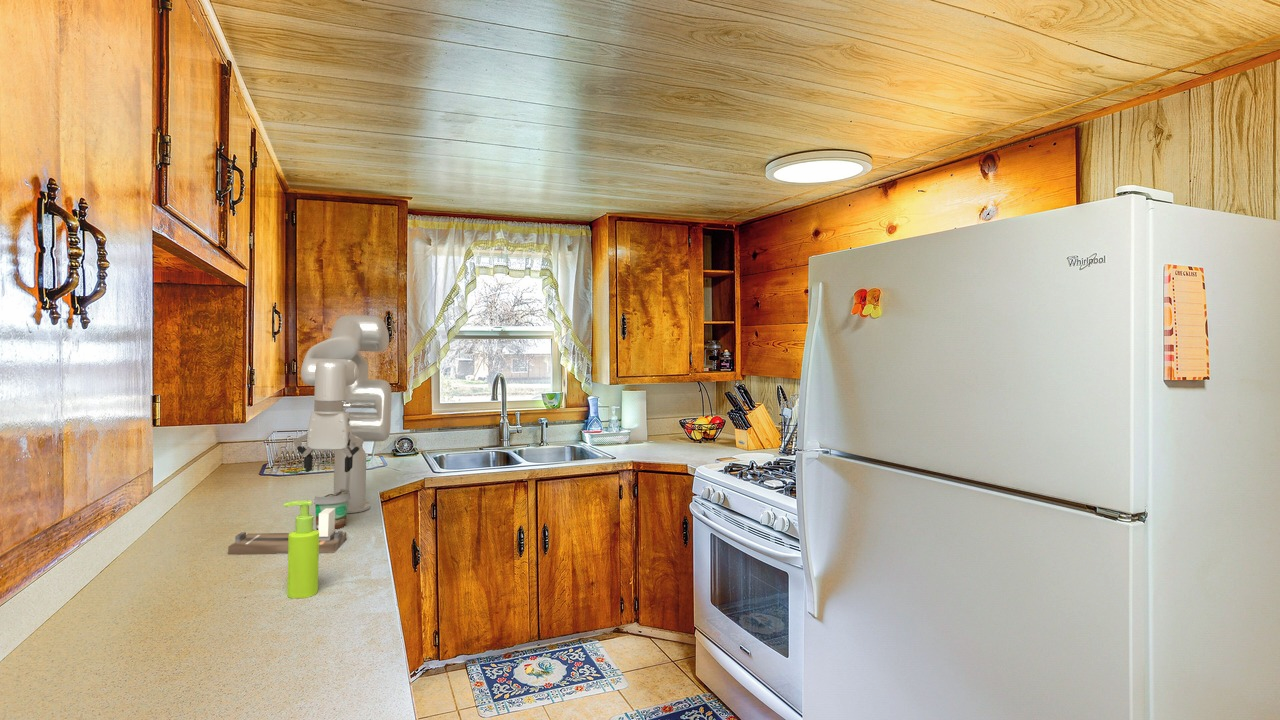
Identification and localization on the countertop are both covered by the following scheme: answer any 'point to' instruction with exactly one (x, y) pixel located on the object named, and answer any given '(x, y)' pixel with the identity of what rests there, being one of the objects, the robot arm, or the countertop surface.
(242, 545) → the slider board
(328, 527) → the block
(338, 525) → the food container
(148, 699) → the countertop surface
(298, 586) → the soap dispenser
